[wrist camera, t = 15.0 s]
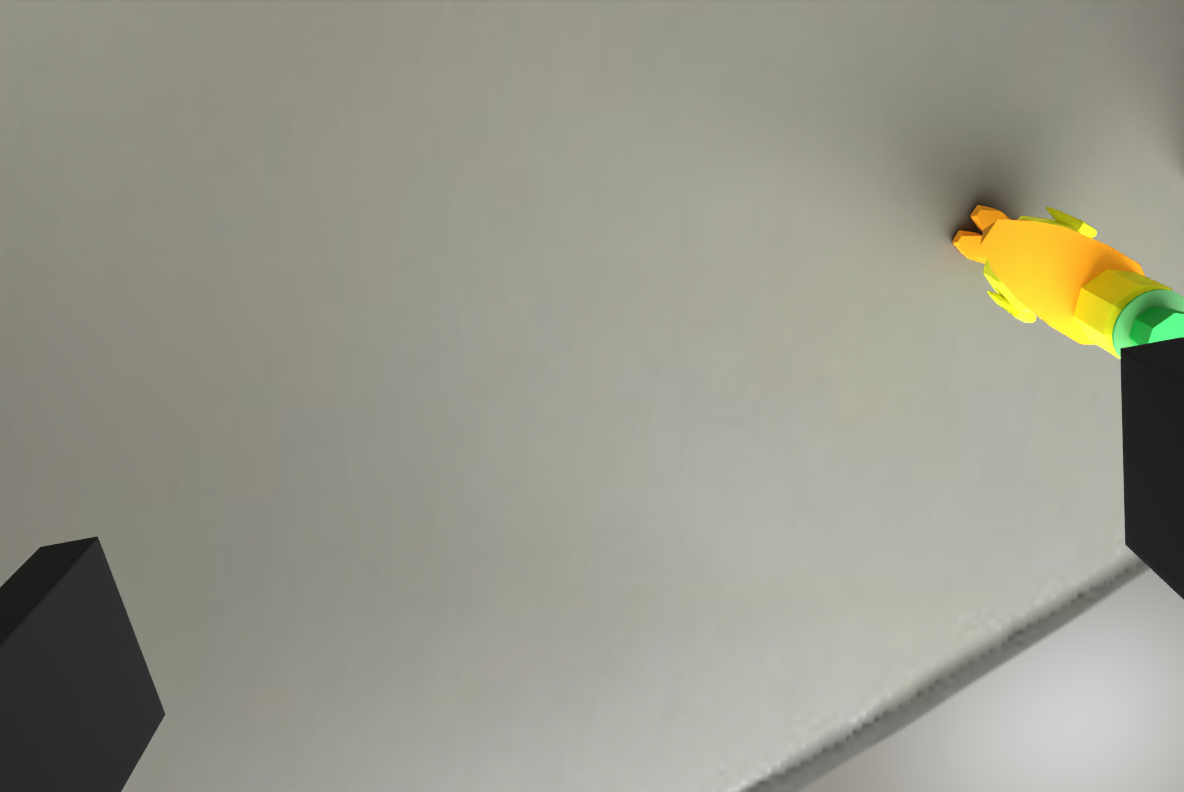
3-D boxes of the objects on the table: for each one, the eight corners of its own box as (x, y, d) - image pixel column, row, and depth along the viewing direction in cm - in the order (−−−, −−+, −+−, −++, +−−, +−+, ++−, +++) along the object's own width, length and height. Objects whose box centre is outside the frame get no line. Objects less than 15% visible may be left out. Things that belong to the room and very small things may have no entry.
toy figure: (875, 230, 38) (997, 320, 27) (933, 140, 37) (1086, 194, 26) (1029, 320, 39) (1209, 443, 28) (1090, 235, 38) (1303, 327, 27)
